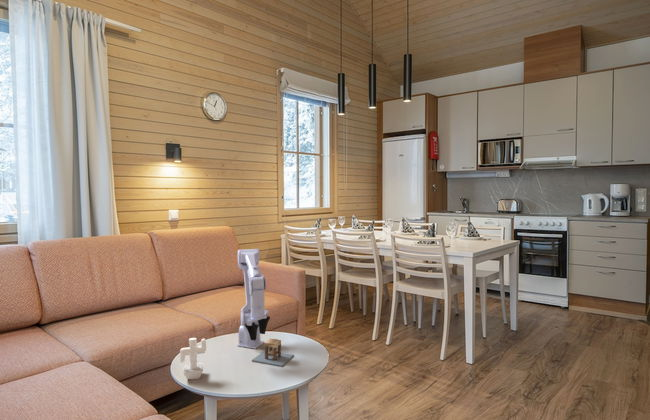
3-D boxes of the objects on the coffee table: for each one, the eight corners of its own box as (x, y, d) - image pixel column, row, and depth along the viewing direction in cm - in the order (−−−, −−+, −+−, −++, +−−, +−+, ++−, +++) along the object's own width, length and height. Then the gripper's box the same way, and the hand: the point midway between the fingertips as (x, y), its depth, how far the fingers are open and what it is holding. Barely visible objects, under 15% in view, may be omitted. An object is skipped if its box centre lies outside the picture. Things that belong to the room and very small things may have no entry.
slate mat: (251, 361, 173) (251, 360, 173) (264, 351, 184) (264, 350, 184) (282, 366, 168) (282, 365, 168) (293, 356, 179) (293, 354, 179)
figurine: (181, 373, 163) (180, 336, 161) (206, 370, 165) (205, 333, 164) (180, 382, 156) (179, 343, 155) (206, 379, 158) (205, 340, 157)
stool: (265, 359, 174) (264, 342, 174) (270, 354, 179) (270, 338, 179) (275, 360, 173) (275, 344, 172) (281, 356, 177) (281, 340, 177)
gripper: (257, 311, 166) (257, 344, 167) (274, 301, 180) (274, 332, 181) (241, 309, 169) (242, 342, 170) (259, 299, 182) (260, 330, 183)
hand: (258, 336), depth 176 cm, fingers open, 7 cm apart
